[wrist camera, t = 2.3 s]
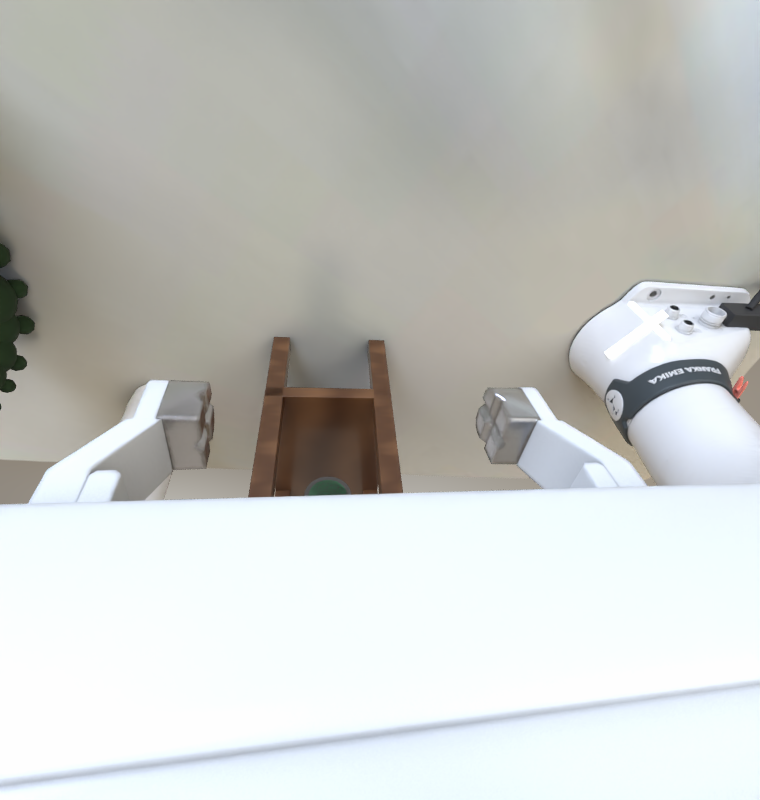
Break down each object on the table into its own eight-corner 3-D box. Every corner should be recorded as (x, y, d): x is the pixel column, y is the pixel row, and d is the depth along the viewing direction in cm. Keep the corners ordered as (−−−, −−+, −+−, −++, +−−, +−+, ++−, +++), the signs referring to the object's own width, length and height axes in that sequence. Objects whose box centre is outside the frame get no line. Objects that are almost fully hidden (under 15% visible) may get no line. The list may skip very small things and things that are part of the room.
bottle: (371, 458, 34) (377, 538, 29) (353, 599, 52) (355, 662, 47) (283, 458, 33) (275, 540, 28) (296, 601, 51) (292, 666, 46)
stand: (384, 340, 59) (407, 528, 39) (371, 440, 72) (384, 615, 53) (273, 336, 57) (242, 531, 38) (282, 440, 71) (263, 620, 52)
